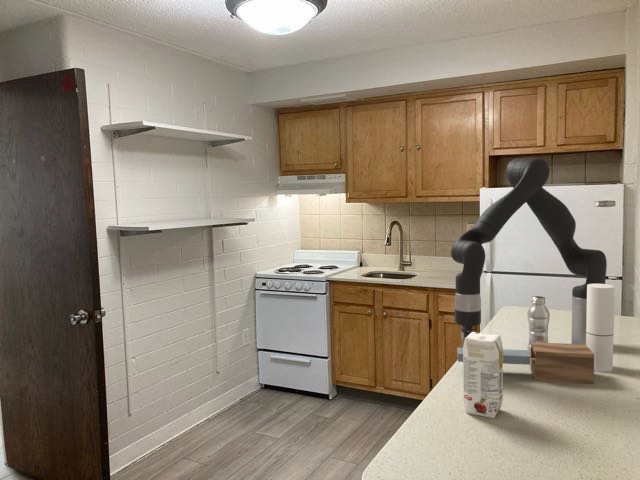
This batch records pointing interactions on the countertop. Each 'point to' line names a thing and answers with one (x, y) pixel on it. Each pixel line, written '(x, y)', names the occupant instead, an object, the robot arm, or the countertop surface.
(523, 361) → the cover plate
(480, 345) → the juice carton
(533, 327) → the plastic bottle
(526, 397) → the countertop surface
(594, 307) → the cylindrical container
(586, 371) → the brown box
